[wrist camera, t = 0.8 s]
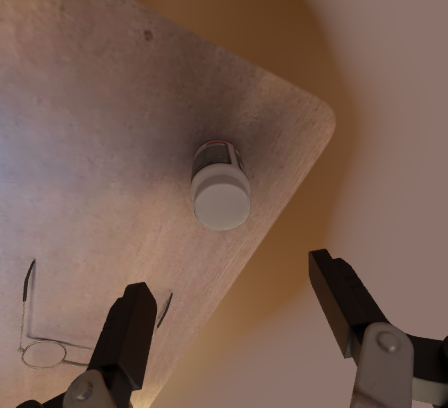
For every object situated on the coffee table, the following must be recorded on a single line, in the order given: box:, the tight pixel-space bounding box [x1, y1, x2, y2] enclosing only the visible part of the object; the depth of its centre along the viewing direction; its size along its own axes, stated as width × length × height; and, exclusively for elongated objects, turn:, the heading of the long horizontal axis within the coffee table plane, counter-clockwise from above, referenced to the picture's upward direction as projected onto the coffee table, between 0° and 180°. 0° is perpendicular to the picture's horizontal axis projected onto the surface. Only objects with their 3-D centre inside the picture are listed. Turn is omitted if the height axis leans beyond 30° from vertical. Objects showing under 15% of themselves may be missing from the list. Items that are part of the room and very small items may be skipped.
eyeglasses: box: [18, 260, 173, 369], centre depth 34 cm, size 18×19×4 cm
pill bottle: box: [190, 140, 251, 231], centre depth 20 cm, size 5×5×8 cm
